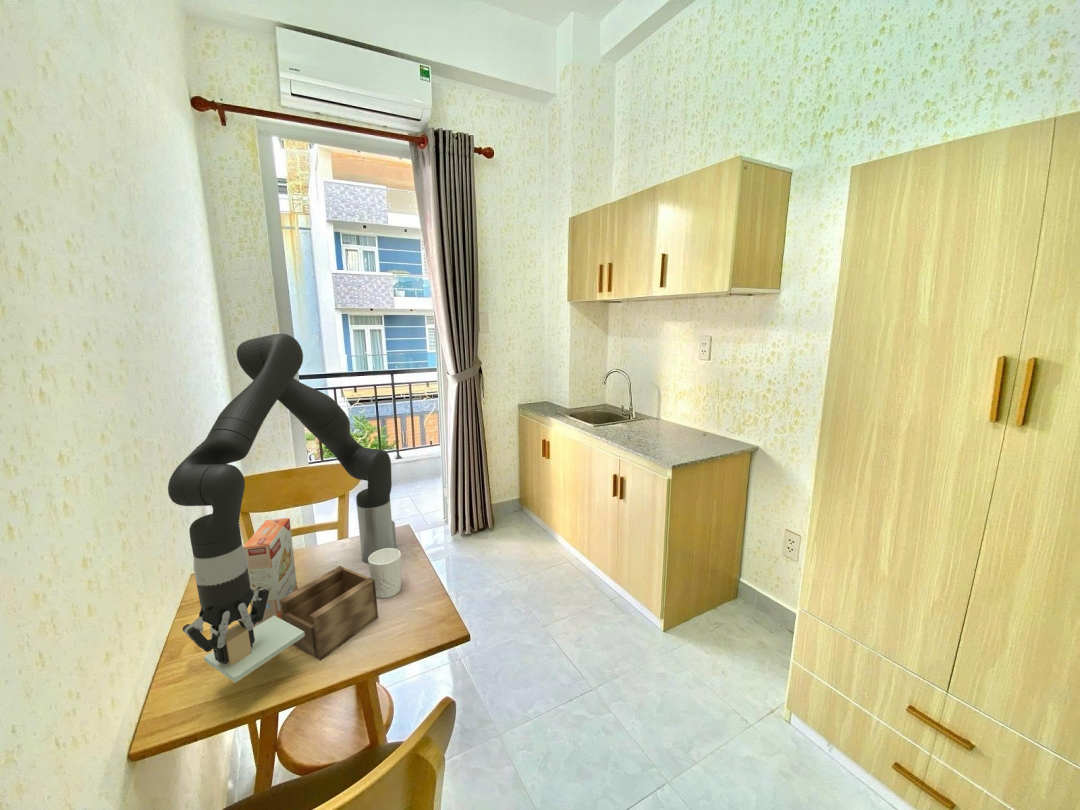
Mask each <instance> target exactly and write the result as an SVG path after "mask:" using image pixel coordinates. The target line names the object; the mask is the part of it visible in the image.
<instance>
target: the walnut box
mask: <svg viewBox="0 0 1080 810" xmlns="http://www.w3.org/2000/svg"><path fill="white" fill-rule="evenodd" d="M377 600H378V599H377V597H376V589H375V580H374V579H372V578H371V577H369V576H367V575H364V574H362V573H359V572H356V571H354V570H352V569H349V568H346V567H344V566H342V565H339V566H337V567H335V568H333V569H332V570H330V571H328V572H326V573H324V574H323V575H321V576H319V577H317V578H316V579H314V580H312V581H310V582H309V583H307V584H304V585H303V586H301V587H299V588H297V590H296V591H294V592H292V593H291V594H289V595H287V596H285V597H284V598H282V599H280V600H279V602H280V610H281V617H282V620H284V621H285V622H287V623H289V624H291V625H293V626H295V627H297V628H298V629H300V630H302V631H304V633H305V636H304V637H303V638H301V639H300V640H298V641H297V642H295V643H294V644H292V645H291V646H295V647H297V649H299V650H301V651H303V652H305V653H306V654H308V655H310V656H312V657H313V658H316V659H317V660H318V661H322V660H324V658H326V657H327V656H328V655H330V654H331V653H332V652H334V651H335V650H336V649H338V648H340V646H342V645H344V644H345V643H346V642H347V641H349V640H351V638H353V637H354V636H356V635H357V634H358V633H360V632H361V631H363V629H365V628H367V627H368V626H369V625H370V624H371V623H373V622H374V621H376V620H377V619H378V618H379V612H378V611H379V610H378V601H377Z"/></svg>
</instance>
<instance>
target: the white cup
mask: <svg viewBox="0 0 1080 810" xmlns="http://www.w3.org/2000/svg"><path fill="white" fill-rule="evenodd" d="M401 555H402V553H401V551H400V550H399V549H398V548H397V549H394V548H385V549H380V550H378V551H375V552H374V553H372V554H371V555H370V556H369V558H368V562H369V563H368V567H369V573H370V574H369V575H370V578H372V579H374V580H375V589H376V598H378V599H389V598H391V597H394V596H395V595H397V594H399V592H400V591H401V589H402V561H401V560H402V556H401Z"/></svg>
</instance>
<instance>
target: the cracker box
mask: <svg viewBox="0 0 1080 810" xmlns="http://www.w3.org/2000/svg"><path fill="white" fill-rule="evenodd" d="M243 547H244V550H245V554H246V558H247V566H248V573H249V579H250V588H251V589H252V590H256V589H257V588H258V587H263V588H265V589H267V590H269V595H268V599H267V604H266V608H265V612H264V616H263V619H262V621H260V622H257V623H256V624H255V625H254V627H255V626H257V625H259V624H261V623H262V622H264V621H266V620H267V619H269V618H271V617H272V616H276V617H278V618H280V619H282V617H281V610H280V602H279V600H280V599H282V598H284V597H285V596H287V595H289V594H291V593H292V592H294V591H296V590H298V582H297V574H296V565H295V556H294V548H293V547H294V546H293V537H292V529H291V519H290V518H289V517H288V518H287V517H286V518H285V517H284V518H278V519H277V518H275V519H267V520H264V522H263V523H262V524H261V525H260V527H259V528H257V529H256V531H255V532H254V533H253V534H252V536H251V537H250V538H249V539H248V540H247V542H246V543H245V544H243ZM252 604H253V599H252V600H251V602H250V604H249V605H250V609H251V608H252Z"/></svg>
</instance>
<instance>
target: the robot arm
mask: <svg viewBox="0 0 1080 810" xmlns="http://www.w3.org/2000/svg"><path fill="white" fill-rule="evenodd" d="M236 359H237V362H238V364H239V366H240V367H241V369H242V371H243V372H244V373H245V374H246V375H247V376H248V377H249V378H250V379H252V381H251V383H249V384H248V386H247V387H245V388H244V389H243V390H242V391H241V392H240V393H238V395H236V396H235V397H234V398H233V399H232V400H231V401H230V402H229V403H227V405H226V406H225V407H224V408H223V409H222V411H220V413H219V415H218V417H217V418H216V420H215V422H214V424H213V425H212V427H211V429H210V430H209V432H208V434H207V436H206V438H205V439H204V440H203V441H202V442H201V443H200V444H199V445H197V446H196V448H194V449H193V451H192V452H190V454H189V455H187V456H186V458H184V459H183V461H182V462H181V463H179V464H178V466H177V467H176V468H175V470H174V471H173V473H172V474H171V476H170V478H169V481H168V485H167V493H168V496H169V499H170V500H171V501H172V502H173V503H174V504H175V505H178V506H181V507H182V506H183V507H207V506H210V507H211V508H212V513H210V514H206V515H203V516H201V517H199V518H197V519H195V520H194V521H193V522H192V523H191V524H190V527H189V529H188V530H189V540H190V545H191V546H190V547H191V550H192V556H193V557H192V558H193V572H194V576H195V583H196V589H197V595H198V599H199V604H200V611H199V615H198V617H197V618H196V619H195V620H193V622H192V623H191V624H190V623H186V624H185V625H184V626H183V627H182V632H183V633H185V635H186V636H187V637H188V638H189V639H191V640H192V641H193V643H195V645H197V646H198V648H200V649H202V650H203V651H204V652H205V653H210V652H212V651H214V656H215V659H216V660H217V661H218V662H219V663H223V664H226V663H228V662H229V659H228V653H227V647H226V645H225V636H226V634H227V631H228V629H229V626H230V625H231V624H232V623H233V622H236V621H238V622H237V623H238V624H239V625H241V626H242V627H244V628H246V629H248V633H249V639H250V645H251V648H252V647H253V645H252V644H253V643H254V641H255V638H254V632H253V628H254V625H255V624H256V623H257V622H260V621H262V619H263V616H264V612H265V608H266V604H267V599H268V595H269V590H267V589H265V588H263V587H258V588H257V589H256V590H252V589H251V588H250V579H249V573H248V566H247V558H246V554H245V550H244V547H243V546H244V544H243V541H242V540H243V539H242V534H241V533H242V532H241V528H240V516H241V512H242V511H241V509H242V503H243V498H244V493H245V488H246V487H245V486H246V482H245V481H246V480H245V477H244V475H243V472H242V471H241V470H240V469H239V468H238V467H237V466H235V465H233V464H231V463H236V462H239V461H241V460H243V459H245V458H246V457H247V456H248V454H249V452H250V450H251V448H252V446H253V444H254V441H255V440H256V438H257V435H258V433H259V431H260V429H261V427H262V425H263V424H264V421H265V419H266V418H267V416H268V415H269V413H270V411H271V410H272V408H273V407H274V405H275V403H277V401H278V402H279V403H280V404H282V405H283V406H284V407H285V408H286V409H287V410H288V411H289V412H290V413H291V414H293V416H294V417H296V418H297V419H298V421H299V422H300V423H301V424H302V425H303V426H304V427H305V428H306V430H308V431H309V432H310V433H311V434H312V435H313V436H314V437H315V438H316V439H317V440H319V442H320V443H322V445H323V446H324V447H325V449H326V448H327V450H328V451H330V453H332V455H333V456H334V457H335V458H336V459H337V461H338V462H339V463H340V465H341V466H342V467H343V469H344V470H345V471H346V473H348V474H349V476H351V477H352V478H353V479H355V480H361V481H367V488H366V489H365V488H364V489H362V490H360V491H359V492H358V493H357V494H356V496H355V502H356V510H357V520H358V521H357V523H358V531H359V543H360V552H361V560H362V561H363V562H364V563H368V564H369V562H368V558H369V556H370V555H371V554H372V553H374V552H375V551H378V550H380V549H385V548H394V549H398V548H397V545H398V544H397V535H396V534H397V533H396V522H395V521H394V520H393V518H392V508H391V507H392V506H391V492H392V486H393V485H392V481H393V480H392V462H391V457H390V455H389V453H388V452H387V451H386V450H384V449H377V448H370V447H364V446H363V445H361V444H360V443H359V442H358V441H357V440H356V439H355V438H354V437H353V436H352V435H351V423H350V418H349V416H348V415H347V414H346V412H345V410H344V409H342V407H341V406H340V405H339V404H338V403H337V401H336V400H335V399H333V398H332V397H331V396H329V395H328V394H326V393H324V392H322V391H320V390H318V389H316V388H314V387H311V386H309V385H306V384H305V383H303V382H300V381H299V380H297V379H296V378H295V377H296V375H297V374H298V372H299V371H300V369H301V367H302V364H303V362H304V353H303V349H302V346H301V344H300V342H298V340H297V339H296V338H295V337H293V336H292V335H290V334H287V333H275V334H274V333H273V334H269V335H264V336H259V337H255V338H251V339H248V340H245V341H243V342H241V343H240V344H238V347H237V348H236ZM252 599H253V604H252V608H251V607H250V612H249V610H248V609H249V605H251V604H250V602H251V600H252ZM204 623H206V624H209V630H210V631H209V632H210V639H207V637H205V636H204V635H203V632H204V626H203V625H204Z"/></svg>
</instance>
